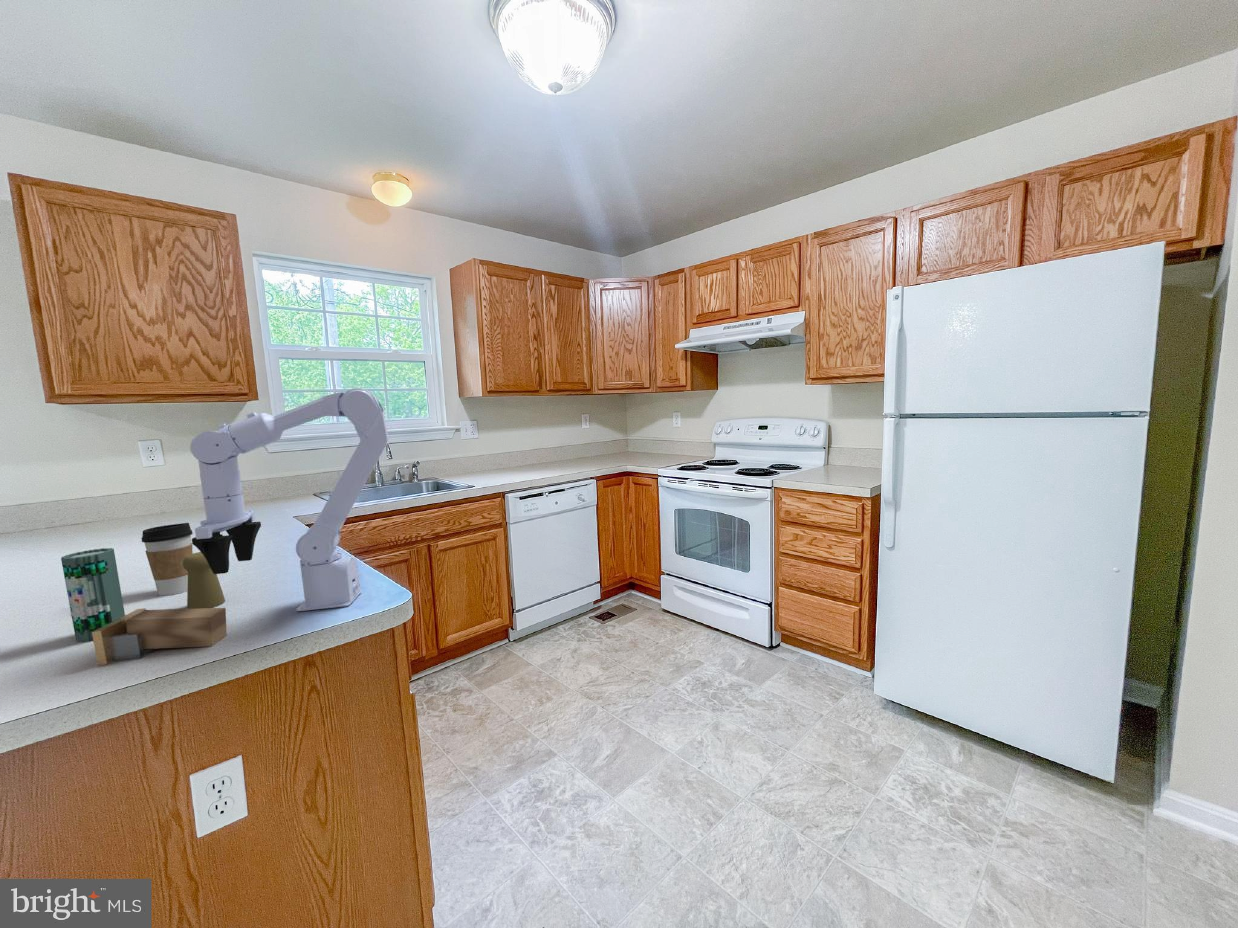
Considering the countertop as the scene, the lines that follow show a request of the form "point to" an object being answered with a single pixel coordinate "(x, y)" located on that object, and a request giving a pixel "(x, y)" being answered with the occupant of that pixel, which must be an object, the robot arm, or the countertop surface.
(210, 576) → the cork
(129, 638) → the bracket
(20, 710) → the countertop surface
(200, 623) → the tan rectangular block
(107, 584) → the can
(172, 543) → the coffee cup
